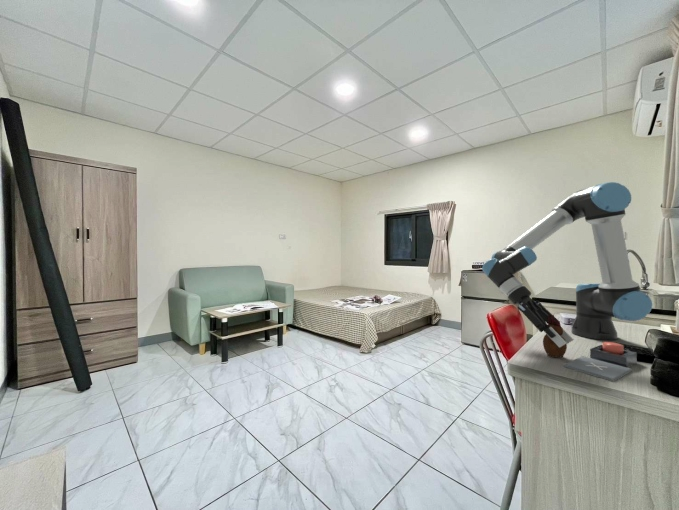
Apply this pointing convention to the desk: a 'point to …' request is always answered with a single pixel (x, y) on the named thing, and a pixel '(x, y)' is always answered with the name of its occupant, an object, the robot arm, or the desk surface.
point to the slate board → (597, 368)
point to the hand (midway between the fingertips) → (566, 343)
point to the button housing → (614, 357)
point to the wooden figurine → (549, 343)
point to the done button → (613, 348)
